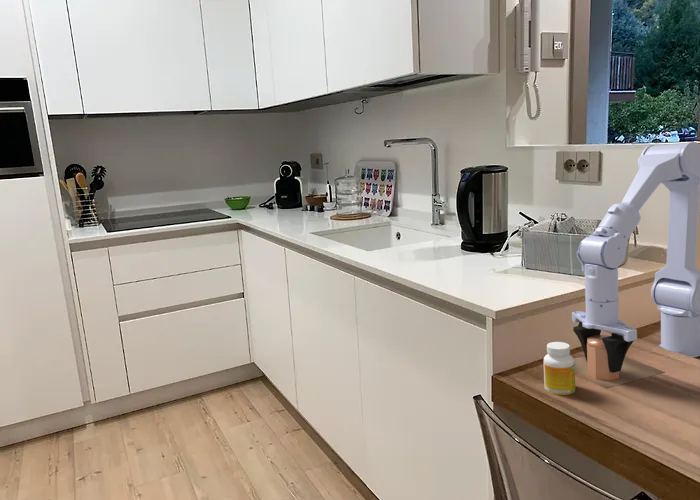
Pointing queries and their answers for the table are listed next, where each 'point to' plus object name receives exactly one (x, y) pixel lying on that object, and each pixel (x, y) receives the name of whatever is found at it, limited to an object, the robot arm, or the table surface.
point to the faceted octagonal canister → (598, 359)
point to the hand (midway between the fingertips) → (603, 365)
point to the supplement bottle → (559, 369)
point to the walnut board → (628, 372)
